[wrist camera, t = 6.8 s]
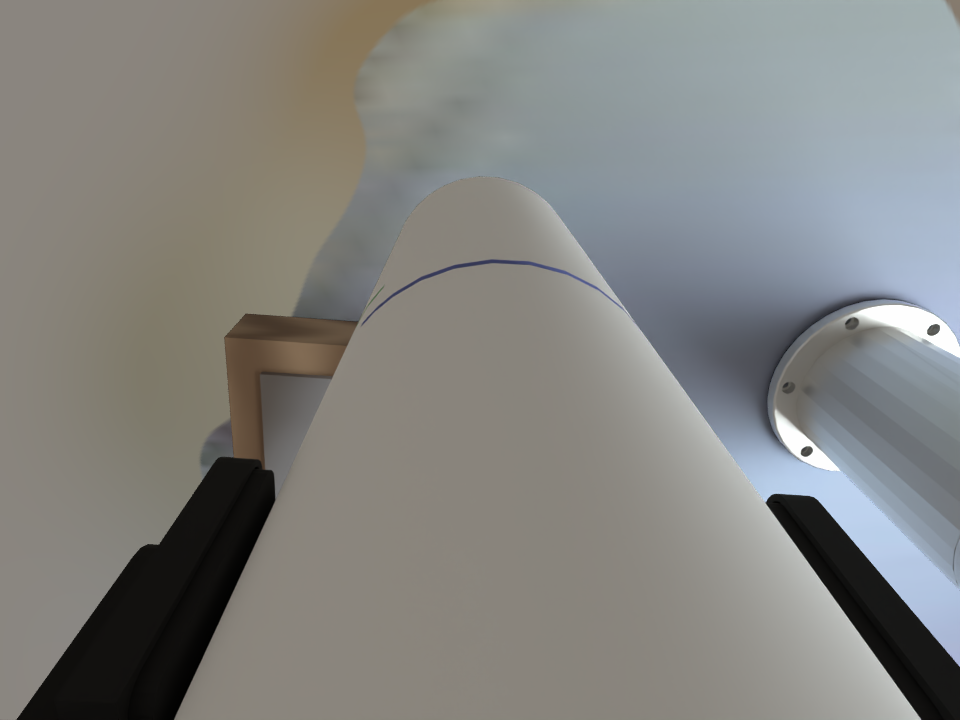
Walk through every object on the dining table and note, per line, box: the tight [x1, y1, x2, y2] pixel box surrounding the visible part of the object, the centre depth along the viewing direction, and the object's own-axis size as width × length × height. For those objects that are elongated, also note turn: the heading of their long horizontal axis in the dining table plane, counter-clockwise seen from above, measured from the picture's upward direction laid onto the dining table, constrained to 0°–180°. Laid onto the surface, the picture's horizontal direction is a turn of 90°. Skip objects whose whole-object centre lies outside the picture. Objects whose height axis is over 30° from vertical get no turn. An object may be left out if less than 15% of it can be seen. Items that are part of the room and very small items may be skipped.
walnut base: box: [224, 314, 358, 499], centre depth 41 cm, size 16×16×4 cm
